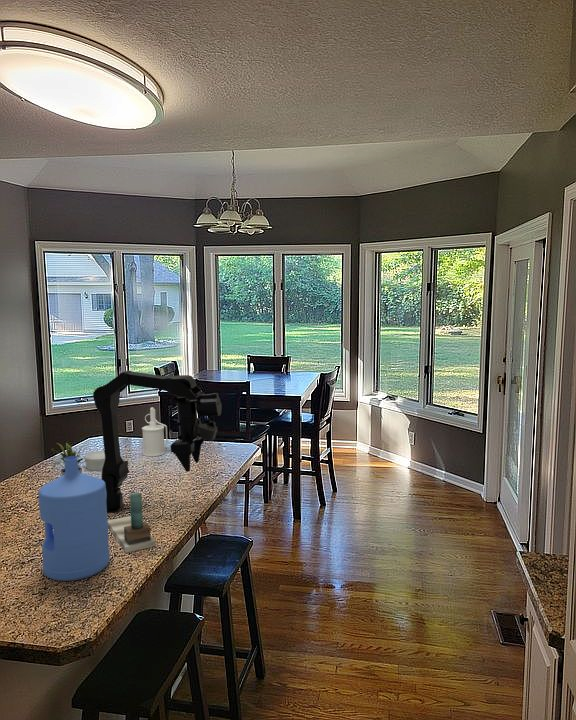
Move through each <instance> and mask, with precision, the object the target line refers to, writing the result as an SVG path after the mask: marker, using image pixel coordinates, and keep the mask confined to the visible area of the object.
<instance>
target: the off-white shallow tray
mask: <svg viewBox="0 0 576 720" xmlns="http://www.w3.org/2000/svg"><path fill="white" fill-rule="evenodd" d="M107 520H108V530H110V531H111V534H113V536H114V538H115V539H116V540H117V542H118V543H119V544H120V547H121V548H122V549H123V551H124V552H125V554H127V553H131V552H135V551H139V550H144V549H147V548H151V547H156V545H157V544H156V543H157V542H156V541H157V540H156V539H155V538H154V537H153V535H151V540H147V541H142V542H138V543H134V544H130V545H128V543H127V542H126V541H125V539H124V527H125V526H130V525H131V515H128V516H124V517H123V516H122V517H118V518H114V519H107Z"/></svg>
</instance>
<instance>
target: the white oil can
mask: <svg viewBox="0 0 576 720" xmlns="http://www.w3.org/2000/svg"><path fill="white" fill-rule="evenodd" d="M149 410H150V411H149V413H148V414H146V415H145V416H144V420H145V422H146V423H147V424H148V425H145V426H143V427H141V430H142V446H143V447H142V448H143V452H142V455H143V456H145V457H150V458H151V457H159V456H163V455H165V454H166V451H165V439H166V445H167V444H168V425H166V424H164V423H161V422H159V421H158V420H157V419H156V409H155V408H154V407H150V408H149ZM147 416H150V417H149V418H150V421H149V422H148V420H147V419H146V418H147Z"/></svg>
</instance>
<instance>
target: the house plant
mask: <svg viewBox="0 0 576 720" xmlns="http://www.w3.org/2000/svg"><path fill="white" fill-rule="evenodd" d="M56 444H57V445H58V446H60V449H61V450H62V452H59V455H60V456H61V457H60V458H59V460H62V461H63V462H61V461H57V462H54V464H53V465H52V467H53V466H56V465H57V464H58V465H60V466H62V465H61V464H63V465H64V466H62V467H63V468H62V469H61V470H60V474H61V476H63V475H64V474H65V460H64V458H66V457H70V456H77V457H78V465H79V466H78V471H79V473H82V474H83V472H82V471H83V467H82V466H81V464H83V463H84V462H85V459H84V457H83V458H79V457H80V456H82V455H83V454H82V453H83V452H84V451H85V450H86V449H88V448H90V447H91V446H87V447H85V448H84V449H83V450H82V448H83V446H84V445H81V447H80V448H79V450H78V452H77V451H73V448H72V447H73V445H69V444H68V442H66V443H65V448H66V449H65V448H64V446H63V445H62V444H60V443H57V442H56ZM81 450H82V451H81ZM52 451H53V452H56V454H58V450H56V449H53V448H52ZM79 453H80V454H79ZM83 460H84V461H83ZM86 461H87V460H86ZM79 463H81V464H79ZM85 463H86V462H85Z"/></svg>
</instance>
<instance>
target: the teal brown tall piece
mask: <svg viewBox="0 0 576 720" xmlns="http://www.w3.org/2000/svg"><path fill="white" fill-rule="evenodd" d="M142 498H143V495H142V493H140V492H134V493H131V494H129V501H130V504H129V505H130V507H129V508H130V516H131V525H130V526H125V527H124V539H125V541H126V542H127V543H128V545H130V544H134V543H138V542H142V541H147V540H151V536H152V535H151V526H150V525H149V524H148V523H147V522H146V521H143V520H144V519H143V499H142Z"/></svg>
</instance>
